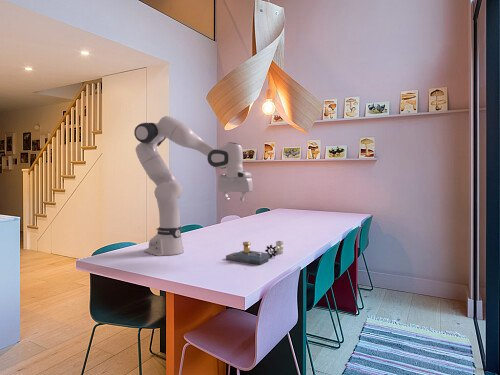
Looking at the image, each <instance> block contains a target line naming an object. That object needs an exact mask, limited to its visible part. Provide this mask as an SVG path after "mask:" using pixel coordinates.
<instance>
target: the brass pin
mask: <svg viewBox="0 0 500 375" xmlns="http://www.w3.org/2000/svg"><path fill="white" fill-rule="evenodd" d="M242 246H243V250H244V253H246V254H249V253H250V251H251V250H250V246H251V242H250V241H243V242H242Z"/></svg>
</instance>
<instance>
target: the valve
mask: <svg viewBox="0 0 500 375" xmlns="http://www.w3.org/2000/svg"><path fill="white" fill-rule="evenodd" d="M264 251H265V252H264V253H268V256H269V258H270V259H271V258H273V257H276V256H277V255H283V254H284V241H282V240H276V241H275V246H274V247H273V244H270V245H267V246H266V249H265V250H264Z"/></svg>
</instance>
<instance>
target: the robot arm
mask: <svg viewBox="0 0 500 375" xmlns="http://www.w3.org/2000/svg"><path fill="white" fill-rule="evenodd" d="M134 136H135V139H136V140H137V141H138V142H139V144H137V145H136V147H135V152H136V153H135V154H136V156H137V158H138V161H139V163H140V164H141V166H142V168H143V170H144V171H145V173H146V175H147V177H148V178H149V179H150V180H151V181H152V182H153V183H154V184H155V186H156V187H155V188H154V192H153V193H154V197H155V198H156V203H157V207H158V213H159V214H158V215H159V227H156V228H155V229H156V231H157V233H156V234H155V235H154V236H153V237H152V238H151V239H149V241H148V248H145V249H144V250H143V251H144V253H148V254H151V255H154V256H157V257H159V256H160V257H162V256H174V255H179V254H182V253H184V252H185V251H184V246H183V239H182V235H181V233H182V226H181V210H180V208H179V203H178V199H180V198H181V196H182V195H183V193H184V192H183V191H184V188H183V186H182V184H181V183H180V182H179V181H178V180H177V178H176V177H175V176H174V175H173V173H172V172H171V171H170V169H169V168H168V166H167V164H166V162H164V160H163V158H162V156H161V154H160V153H159V151H158V149H157V147H159V146H160V145H161V144H162V143H163V142H164V141H165V140H166V139H168V140H169V141H171V142H173V143H174V144H176V145H178V146H180V147H183V148H187V149H192V150H195V151H197V152H200V153H201V154H203V155H204V156H206V157H207V158H206V160H207V162H208V164H209V165H210V166H211V167H212V168H216V169H217V168H218V169H225V173H221V174H219V176H218V182H217V191H218V192H223V195H224V197H225V198H224V199H225V201H230V196H229V195H228V194H229V193H230V192H231V193H241V197H240V198H239V201H240V202H244V201H245V197H246V196H247V193H251V192H253V190H254V188H253V187H254V184H253V183H254V182H253V179H252V177H253V176H252V173H251V172H249V171H246V170H244V166H243V162H244V153H243V152H244V149H243V146H242V145H241V144H240V143H237V142H231V141H230V142H227V143H225V144H224V145H223V146H220V147H218V148H217V147H214V146H213V145H211V144H210V143H208V142H207V141H205V140H203V139H202V138H201V137H200V136H199V135H198V134H197V133H195V131H193V130H192V129H191V128H190V127H189V126H187V125H186V124H184V123H182V122H181V121H180V120H178V119H176V118H174V117H171V116H168V115H165V116H163V117H161V118H160V119H159V121H158V122H157V123H155V122H141V123H139V124H138V125H137V126H136V127H135V128H134Z"/></svg>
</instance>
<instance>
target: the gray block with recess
mask: <svg viewBox="0 0 500 375" xmlns="http://www.w3.org/2000/svg"><path fill="white" fill-rule="evenodd" d="M225 260H227V261H233V262H239V263H245V264H251V265H257V266H262V265H264V264H266V263H268V262H269V255H268V253H267V252H261V251H254V250H250V253H249V254H246V253H244V249H243V250H240V251H238V252H233V253H229V254H227V255H225Z"/></svg>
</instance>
